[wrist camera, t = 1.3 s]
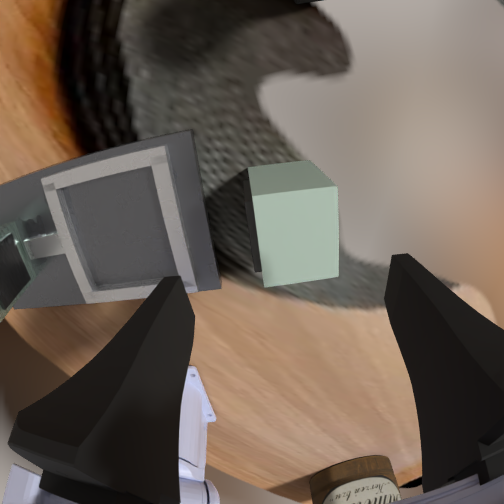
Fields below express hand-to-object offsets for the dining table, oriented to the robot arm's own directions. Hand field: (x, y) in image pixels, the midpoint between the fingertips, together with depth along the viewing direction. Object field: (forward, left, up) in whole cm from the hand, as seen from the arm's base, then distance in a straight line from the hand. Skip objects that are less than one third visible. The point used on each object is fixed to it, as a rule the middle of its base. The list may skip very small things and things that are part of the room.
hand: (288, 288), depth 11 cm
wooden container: (-51, -10, -11) cm, 53 cm away
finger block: (-1, -1, -11) cm, 11 cm away
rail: (-1, +14, -11) cm, 18 cm away
